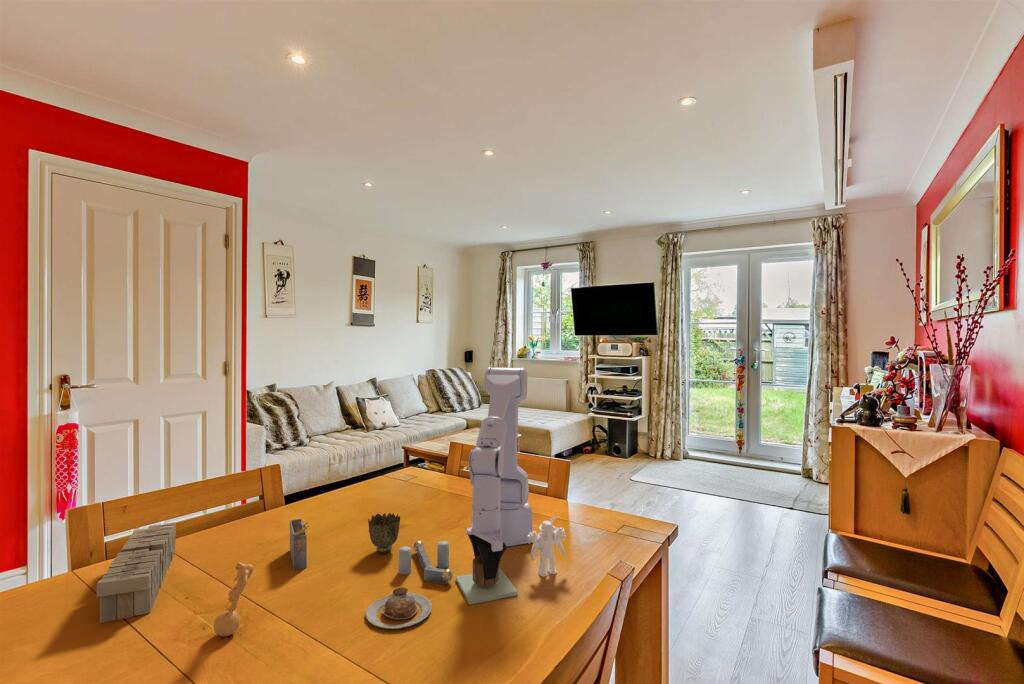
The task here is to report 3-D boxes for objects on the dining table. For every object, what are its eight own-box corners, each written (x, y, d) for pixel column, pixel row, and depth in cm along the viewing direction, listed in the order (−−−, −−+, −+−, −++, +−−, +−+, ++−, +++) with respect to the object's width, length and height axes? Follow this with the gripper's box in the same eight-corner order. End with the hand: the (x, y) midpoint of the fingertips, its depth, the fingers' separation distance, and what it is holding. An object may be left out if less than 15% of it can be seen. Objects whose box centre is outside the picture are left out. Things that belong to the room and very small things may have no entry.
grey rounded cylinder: (409, 568, 109) (409, 545, 109) (411, 573, 107) (411, 550, 107) (397, 570, 108) (397, 547, 108) (399, 575, 106) (399, 552, 106)
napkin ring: (493, 572, 104) (493, 553, 104) (501, 583, 100) (501, 563, 100) (470, 576, 102) (470, 556, 102) (477, 587, 98) (477, 567, 98)
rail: (435, 548, 120) (435, 536, 119) (454, 584, 102) (454, 571, 102) (411, 551, 118) (411, 540, 117) (427, 589, 100) (427, 575, 100)
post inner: (447, 562, 112) (447, 540, 112) (450, 567, 110) (450, 545, 110) (436, 564, 111) (436, 542, 111) (438, 569, 109) (438, 546, 109)
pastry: (399, 642, 84) (399, 615, 84) (351, 620, 90) (351, 595, 90) (444, 609, 94) (444, 585, 94) (398, 592, 100) (398, 569, 100)
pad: (500, 572, 108) (500, 568, 108) (517, 595, 98) (517, 591, 98) (455, 580, 104) (455, 576, 104) (469, 604, 95) (469, 600, 95)
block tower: (135, 564, 113) (93, 629, 86) (135, 527, 113) (93, 580, 86) (177, 557, 116) (149, 618, 90) (176, 521, 116) (148, 571, 90)
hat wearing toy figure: (561, 565, 111) (561, 512, 111) (569, 573, 108) (570, 518, 107) (524, 572, 108) (524, 517, 108) (531, 580, 104) (532, 523, 104)
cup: (391, 559, 113) (391, 525, 113) (362, 556, 115) (362, 522, 115) (405, 546, 121) (405, 513, 120) (377, 543, 122) (377, 511, 122)
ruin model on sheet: (308, 569, 109) (308, 525, 109) (293, 572, 108) (293, 528, 108) (303, 549, 119) (303, 509, 119) (289, 552, 118) (289, 511, 118)
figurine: (214, 625, 87) (214, 558, 87) (252, 616, 90) (252, 550, 90) (212, 651, 80) (212, 578, 80) (254, 640, 83) (254, 569, 83)
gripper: (458, 497, 106) (457, 559, 106) (477, 520, 93) (477, 592, 93) (489, 493, 109) (488, 554, 109) (513, 516, 95) (512, 586, 95)
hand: (485, 572), depth 101 cm, fingers closed on napkin ring, 5 cm apart
